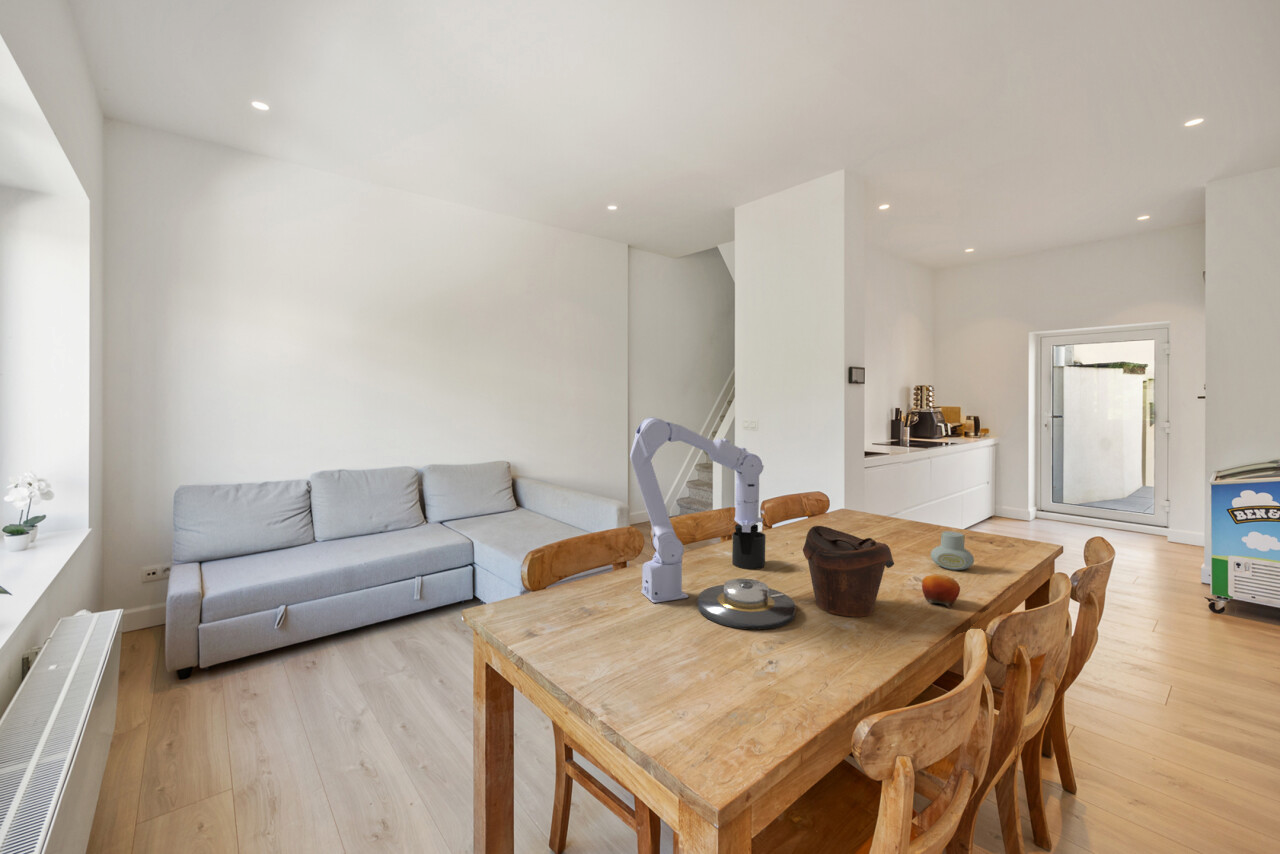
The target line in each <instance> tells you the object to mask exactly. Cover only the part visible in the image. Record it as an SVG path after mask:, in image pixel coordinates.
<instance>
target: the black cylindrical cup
mask: <svg viewBox="0 0 1280 854" xmlns="http://www.w3.org/2000/svg"><path fill="white" fill-rule="evenodd" d="M766 538H767V537H766V534H765V533H763V532H760V531H757V533H756V535H755V537H754V540H753V544H752V550H751V554H750V555H743V554H742V553H741V548H740V541H739V537H738V534H737V532H736V531H734V532H733V533H732V552H731V553H732V558H731V559H732V561H731V562H732V564H733V566H734V567H737V568H740V569H744V570H746V569H747V570H757V569H758V570H759V569H762V568H763V567H765V565H766V540H767V539H766Z"/></svg>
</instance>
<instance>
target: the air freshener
mask: <svg viewBox="0 0 1280 854" xmlns="http://www.w3.org/2000/svg"><path fill="white" fill-rule="evenodd" d="M930 557H931V560H932V561H933V562H934V563H935V564H936V565H938V567H941V568H943V569H944V570H945V569H946V570H949V571H960V570H961V571H962V570H966V569H968V568H971V567H972V566H973V565H974V562H975V559H974V555H973V554H972V552H971V551H969V550H967V549H966V548H965V534H963V533H961V532H958V531H950V530H949V531H947V530H945V531H942V532H941V536H940V545H937V546H936V547H934V548H933V549H932V550H931V551H930Z"/></svg>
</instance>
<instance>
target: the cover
mask: <svg viewBox="0 0 1280 854" xmlns="http://www.w3.org/2000/svg"><path fill="white" fill-rule="evenodd" d="M723 585H724V601H725V603H727V604H728V605H730V606H732V607H735V608H740V609H750V610H751V609H761V608H764V607H766V606H767V605H768V588H769V586H768V584H766V583H764V582H763V581H759V580H756V579H750V578H734V579H729V580H727V581H725V582H724V584H723Z"/></svg>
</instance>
